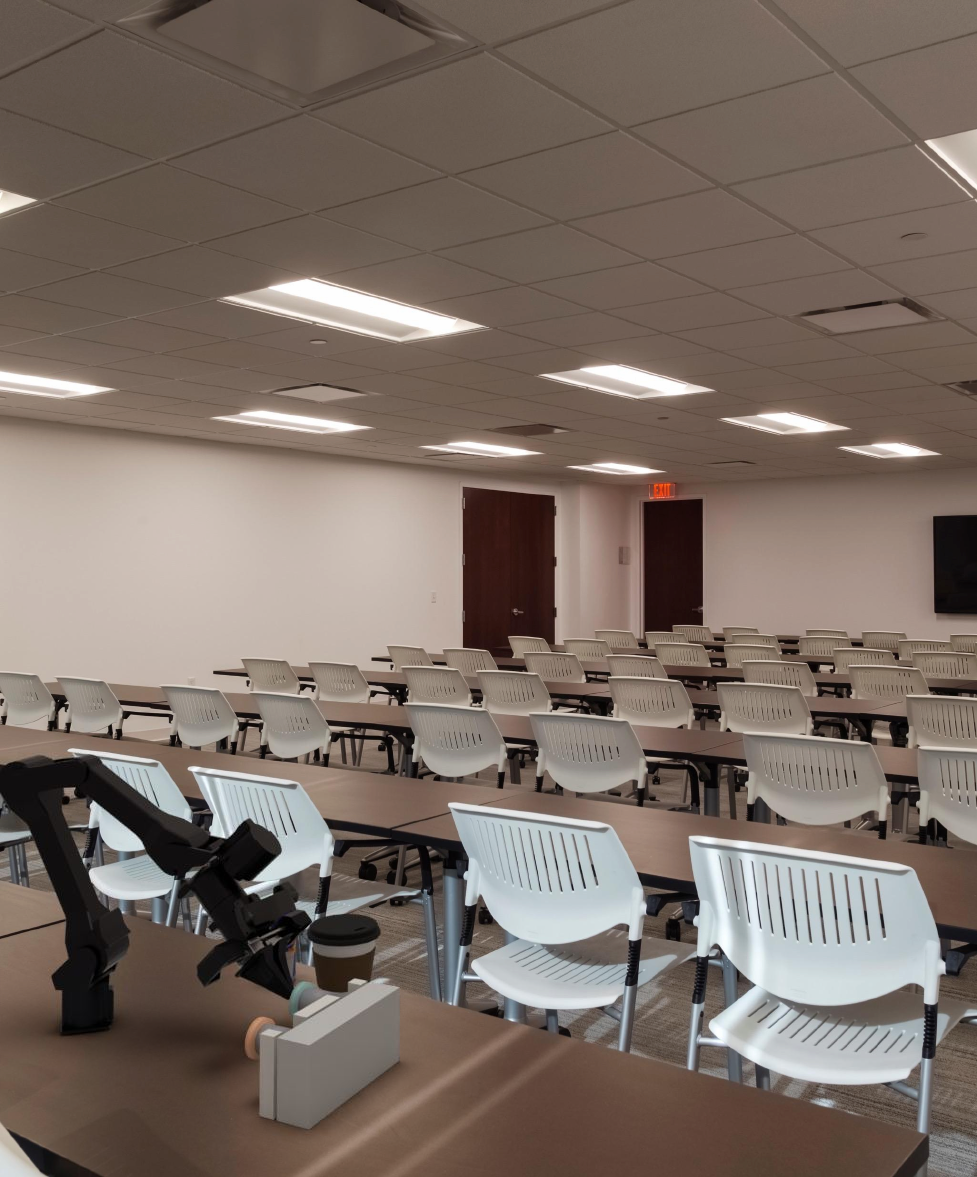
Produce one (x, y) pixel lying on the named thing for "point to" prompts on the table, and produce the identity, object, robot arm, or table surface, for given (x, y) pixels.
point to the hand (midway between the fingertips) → (292, 997)
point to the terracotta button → (254, 1035)
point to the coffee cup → (343, 950)
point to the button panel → (329, 1053)
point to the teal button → (305, 996)
